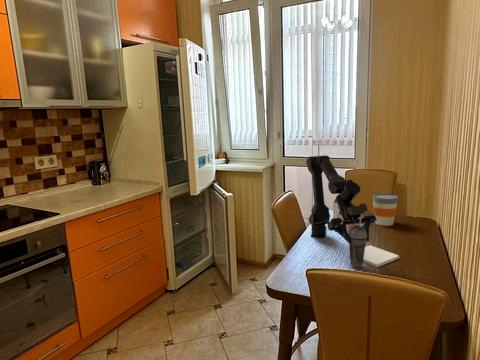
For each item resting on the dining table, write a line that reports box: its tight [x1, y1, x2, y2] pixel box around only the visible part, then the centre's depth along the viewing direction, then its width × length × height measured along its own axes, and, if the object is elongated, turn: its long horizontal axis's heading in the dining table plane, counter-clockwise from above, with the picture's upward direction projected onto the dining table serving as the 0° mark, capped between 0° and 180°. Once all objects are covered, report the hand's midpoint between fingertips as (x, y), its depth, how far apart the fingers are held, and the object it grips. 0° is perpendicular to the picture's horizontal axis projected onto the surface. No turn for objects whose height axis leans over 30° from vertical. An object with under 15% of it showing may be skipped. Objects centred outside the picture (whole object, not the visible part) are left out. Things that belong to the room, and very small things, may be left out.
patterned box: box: [332, 199, 360, 233], centre depth 182 cm, size 21×6×12 cm, turn 6°
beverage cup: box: [348, 214, 367, 268], centre depth 133 cm, size 7×7×20 cm
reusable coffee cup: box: [372, 193, 399, 227], centre depth 184 cm, size 13×13×15 cm
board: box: [347, 245, 400, 268], centre depth 144 cm, size 14×14×1 cm
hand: (359, 242), depth 132 cm, fingers closed on beverage cup, 7 cm apart
